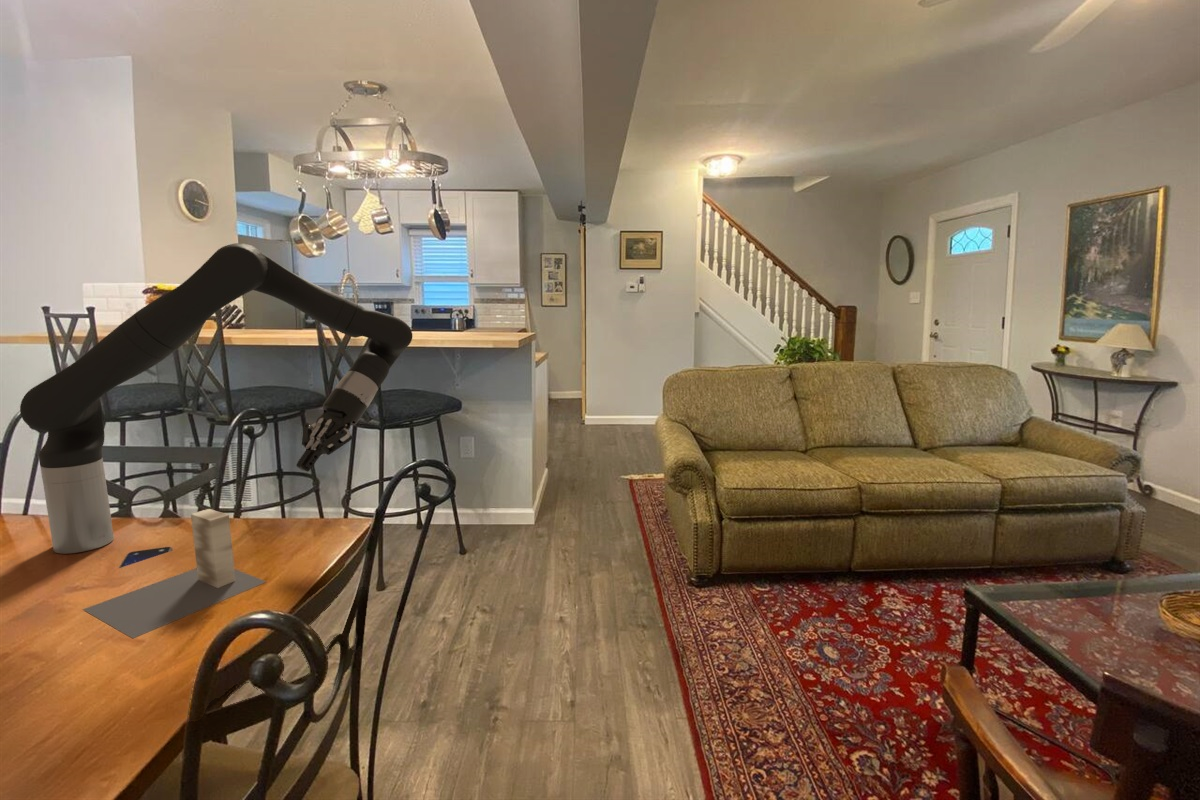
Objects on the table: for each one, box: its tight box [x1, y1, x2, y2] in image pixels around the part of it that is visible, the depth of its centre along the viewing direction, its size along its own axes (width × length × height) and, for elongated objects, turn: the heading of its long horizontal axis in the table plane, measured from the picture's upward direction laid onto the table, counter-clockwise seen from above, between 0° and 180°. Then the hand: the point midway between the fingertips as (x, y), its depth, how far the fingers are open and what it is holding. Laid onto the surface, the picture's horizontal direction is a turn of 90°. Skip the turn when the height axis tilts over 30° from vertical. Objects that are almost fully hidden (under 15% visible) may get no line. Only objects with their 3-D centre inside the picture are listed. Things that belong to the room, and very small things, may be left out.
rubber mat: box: [82, 567, 267, 639], centre depth 99 cm, size 16×20×1 cm
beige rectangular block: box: [190, 508, 236, 588], centre depth 103 cm, size 6×3×12 cm, turn 61°
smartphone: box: [118, 546, 173, 569], centre depth 110 cm, size 7×1×15 cm
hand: (301, 468), depth 116 cm, fingers closed
